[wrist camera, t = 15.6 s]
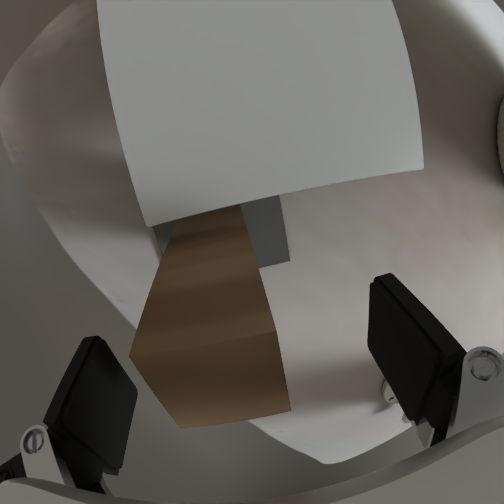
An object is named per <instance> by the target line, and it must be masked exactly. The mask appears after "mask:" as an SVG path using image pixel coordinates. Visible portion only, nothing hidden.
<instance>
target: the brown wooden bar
mask: <svg viewBox="0 0 504 504" xmlns="http://www.w3.org/2000/svg"><path fill="white" fill-rule="evenodd" d="M129 357H130V359H131V360H132V362H133V363H134V365H135V366H136V368H137V369H138V371H139V372H140V374H141V375H142V377H143V378H144V380H145V381H146V383H147V384H148V386H149V387H150V388H151V390H152V391H153V393H154V394H155V395H156V397H157V398H158V399H159V401H160V402H161V403H162V405H163V406H164V407H165V409H166V410H167V411H168V413H169V414H170V415H171V416H172V418H173V419H174V420H175V422H176V423H177V424H178V425H179V426H180V428H186V427H187V428H188V427H199V426H207V425H216V424H223V423H231V422H237V421H243V420H249V419H255V418H260V417H265V416H270V415H275V414H279V413H284V412H288V411H291V407H290V402H289V396H288V391H287V385H286V380H285V374H284V369H283V363H282V358H281V353H280V347H279V342H278V337H277V331H276V327H275V324H274V321H273V317H272V314H271V310H270V307H269V303H268V300H267V296H266V293H265V289H264V286H263V282H262V279H261V275H260V272H259V268H258V265H257V262H256V258H255V255H254V251H253V248H252V244H251V241H250V237H249V234H248V230H247V227H246V224H245V220H244V217H243V213H242V210H241V206H240V204H235V205H231V206H227V207H223V208H219V209H215V210H211V211H207V212H203V213H199V214H195V215H191V216H187V217H183V218H180V219H178V220H177V222H176V224H175V227H174V229H173V232H172V234H171V237H170V239H169V242H168V244H167V247H166V249H165V252H164V254H163V257H162V259H161V262H160V265H159V267H158V270H157V273H156V275H155V278H154V281H153V284H152V287H151V289H150V292H149V295H148V298H147V301H146V304H145V307H144V310H143V313H142V316H141V319H140V322H139V325H138V328H137V331H136V334H135V338H134V341H133V344H132V348H131V351H130V354H129Z"/></svg>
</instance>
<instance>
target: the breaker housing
mask: <svg viewBox="0 0 504 504" xmlns="http://www.w3.org/2000/svg"><path fill="white" fill-rule="evenodd" d="M97 11H98V21H99V30H100V38H101V45H102V52H103V58H104V64H105V70H106V76H107V81H108V86H109V91H110V96H111V101H112V106H113V110H114V115H115V119H116V123H117V128H118V132H119V136H120V140H121V144H122V147H123V151H124V155H125V159H126V162H127V166H128V169H129V173H130V176H131V180H132V183H133V186H134V189H135V193H136V196H137V199H138V202H139V205H140V208H141V211H142V215H143V218H144V220H145V223H146V226H147V227H150V226H154V225H158V224H161V223H165V222H168V221H172V220H176V219H180V218H183V217H187V216H191V215H195V214H199V213H203V212H207V211H211V210H215V209H219V208H223V207H227V206H231V205H235V204H240V203H244V202H248V201H252V200H257V199H261V198H266V197H270V196H275V195H280V194H284V193H289V192H294V191H299V190H303V189H308V188H313V187H319V186H324V185H329V184H334V183H340V182H345V181H351V180H356V179H362V178H368V177H374V176H380V175H386V174H393V173H399V172H406V171H413V170H420V169H424V163H423V147H422V135H421V126H420V117H419V110H418V103H417V96H416V90H415V85H414V79H413V74H412V70H411V65H410V61H409V56H408V52H407V48H406V44H405V41H404V37H403V33H402V30H401V27H400V23H399V20H398V17H397V14H396V11H395V8H394V5H393V3H392V0H97Z"/></svg>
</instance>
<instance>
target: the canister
mask: <svg viewBox="0 0 504 504" xmlns="http://www.w3.org/2000/svg"><path fill="white" fill-rule="evenodd" d="M497 130H498V131H497V137H498V141H497V144H498V153H499V160H500V162H501V168H502V170H503V174H504V98H503V100H502V103H501V105H500V110H499V117H498V125H497Z"/></svg>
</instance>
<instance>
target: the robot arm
mask: <svg viewBox="0 0 504 504" xmlns="http://www.w3.org/2000/svg"><path fill="white" fill-rule="evenodd" d="M367 343H368V348H369V350H370V352H371V354H372V356H373V357H374V359H375V361H376V363H377V364H378V366H379V368H380V370H381V371H382V373H383V375H384V377H385V378H386V380H385V382H384V384H383V387H382V394H383V397H384V398H385V400H386V401H387V402H389V403H393V404H394V403H399V404H400V406H401V407H402V409H403V411H404V414H403V416H402V420H403V422H405V423H410V422H411V424H412V426H413V428H414V430H415V432H416V434H417V436H418V437H419V439H420V441H421V443H422V445H423V447H424V449H425V450H424V451H422V452H420V453H418V454H415V455H413V456H411V457H409V458H407V459H404V460H402V461H400V462H398V463H395V464H393V465H390V466H388V467H385V468H383V469H380V470H377V471H375V472H372V473H369V474H367V475H364V476H361V477H358V478H355V479H352V480H349V481H346V482H342V483H339V484H336V485H332V486H328V487H325V488H320V489H317V490H312V491H308V492H303V493H299V494H294V495H289V496H282V497H277V498H270V499H263V500H255V501H246V502H233V503H214V504H504V360H503V358H502V356H501V355H500V354H499V353H498V352H497V351H496V350H494V349H492V348H489V347H485V346H483V347H476V348H473V349H471V350H470V351H469V352H466V351H465V350H464V349H463V347H462V346H461V345H460V344H459V343H458V342H457V340H456V339H455V338H454V337H453V336H452V335H451V334H450V333H449V331H448V330H447V329H446V328H445V327H444V326H443V325H442V324H441V323H440V322H439V321H438V319H437V318H436V317H435V316H434V315H433V314H432V313H431V312H430V311H429V310H428V309H427V308H426V307H425V306H424V305H423V304H422V303H421V302H420V301H419V300H418V299H417V298H416V297H415V296H414V295H413V294H412V293H411V292H410V291H409V290H408V289H407V288H406V287H405V286H404V285H403V284H402V283H401V282H400V281H399V280H398V279H397V278H396V277H395V276H394V275H393V274H392V273H388V274H384V275H381V276H377V277H375V278H374V282H372V283H371V284H370V298H369V324H368V340H367ZM137 395H138V393H137V389H136V387H135V385H134V384H133V382H132V381H131V380H130V378H129V377H128V375H127V374H126V372H125V371H124V369H123V368H122V366H121V365H120V363H119V362H118V360H117V359H116V357H115V356H114V354H113V353H112V351H111V349H110V348H109V346H108V345H107V343H106V342H105V340H103V339H101V338H100V337H99V336H91V337H85V338H84V339H83V340H82V342H81V344H80V345H79V347H78V349H77V351H76V353H75V355H74V357H73V359H72V361H71V362H70V364H69V366H68V368H67V370H66V372H65V374H64V376H63V378H62V380H61V382H60V384H59V386H58V389H57V391H56V393H55V395H54V397H53V400H52V402H51V404H50V406H49V408H48V411H47V413H46V415H45V418H44V420H43V422H44V423H45V424H46V425H47V426H48V429H47V430H46V429H45V428H44V427H43V426H40V425H34V426H32V427H30V428H29V429H28V430H26V432H25V433H24V434H23V436H22V438H21V442H20V448H21V453H19V454H18V455H16V456H15V457H13V458H12V459H10V460H9V461H7V462H6V463H4V464H2V465H1V466H0V504H181V503H164V502H151V501H142V500H134V499H127V498H121V497H115V496H113V494H112V493H111V491H110V489H109V488H108V486H107V484H106V482H105V481H104V479H103V477H102V473H103V472H104V473H106V474H110V475H118V472H119V469H120V468H121V467H122V465H123V460H124V455H125V449H126V444H127V440H128V435H129V430H130V426H131V421H132V417H133V412H134V408H135V404H136V400H137ZM182 504H184V503H182Z"/></svg>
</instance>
